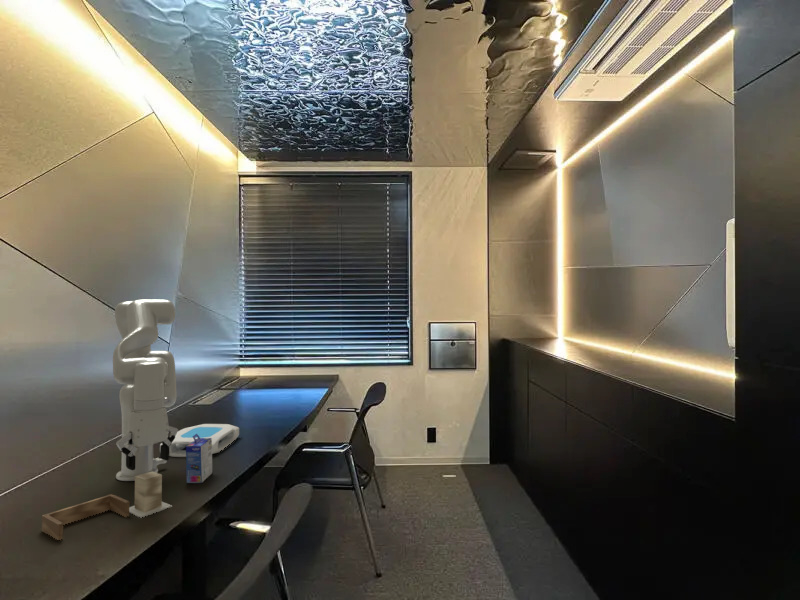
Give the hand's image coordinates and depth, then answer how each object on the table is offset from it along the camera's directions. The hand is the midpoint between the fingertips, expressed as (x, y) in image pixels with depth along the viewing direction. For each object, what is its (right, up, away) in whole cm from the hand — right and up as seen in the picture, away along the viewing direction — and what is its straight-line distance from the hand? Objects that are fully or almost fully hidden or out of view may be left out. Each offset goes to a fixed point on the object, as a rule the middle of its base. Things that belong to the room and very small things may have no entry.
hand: (148, 464), depth 137 cm
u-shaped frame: (-11, -12, -10) cm, 19 cm away
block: (0, -12, -1) cm, 12 cm away
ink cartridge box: (+5, -13, +24) cm, 28 cm away
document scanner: (-10, -14, +61) cm, 63 cm away
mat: (0, -12, -1) cm, 12 cm away
